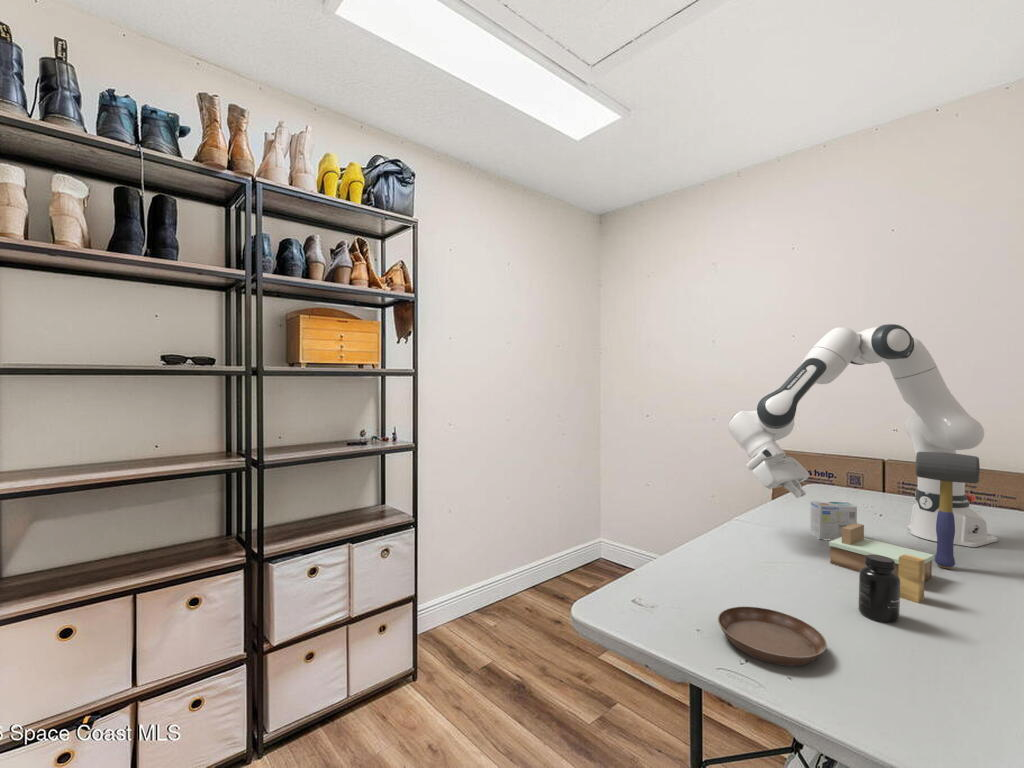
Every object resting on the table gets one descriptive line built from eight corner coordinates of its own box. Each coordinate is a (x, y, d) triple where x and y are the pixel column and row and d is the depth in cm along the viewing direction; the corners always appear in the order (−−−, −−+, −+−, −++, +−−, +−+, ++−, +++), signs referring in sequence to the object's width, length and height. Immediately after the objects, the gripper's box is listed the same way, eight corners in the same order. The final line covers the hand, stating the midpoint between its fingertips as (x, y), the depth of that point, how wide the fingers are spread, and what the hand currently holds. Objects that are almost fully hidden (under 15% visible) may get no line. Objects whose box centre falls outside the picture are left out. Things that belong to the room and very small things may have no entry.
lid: (848, 537, 135) (849, 519, 135) (933, 558, 120) (934, 538, 120) (828, 545, 129) (829, 526, 129) (915, 568, 113) (916, 547, 113)
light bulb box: (844, 534, 153) (845, 500, 153) (857, 542, 147) (858, 506, 146) (808, 533, 154) (809, 499, 154) (820, 540, 148) (820, 505, 147)
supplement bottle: (902, 627, 96) (903, 567, 96) (859, 618, 100) (860, 559, 99) (897, 613, 102) (898, 556, 102) (857, 605, 105) (858, 549, 105)
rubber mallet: (977, 569, 125) (979, 453, 125) (978, 578, 120) (980, 457, 120) (914, 557, 134) (916, 448, 133) (912, 565, 128) (914, 451, 128)
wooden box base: (849, 555, 135) (849, 539, 135) (931, 578, 120) (931, 559, 120) (830, 563, 129) (830, 546, 129) (914, 588, 114) (914, 569, 114)
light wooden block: (904, 593, 112) (904, 553, 111) (924, 599, 109) (924, 558, 108) (898, 596, 110) (898, 557, 109) (917, 603, 107) (918, 562, 106)
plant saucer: (834, 643, 91) (835, 627, 91) (814, 687, 77) (815, 668, 77) (735, 612, 102) (735, 597, 102) (703, 645, 89) (703, 629, 89)
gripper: (779, 460, 156) (811, 497, 148) (742, 466, 145) (775, 506, 137) (794, 448, 152) (827, 485, 144) (757, 453, 141) (791, 494, 133)
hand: (801, 496), depth 140 cm, fingers closed
